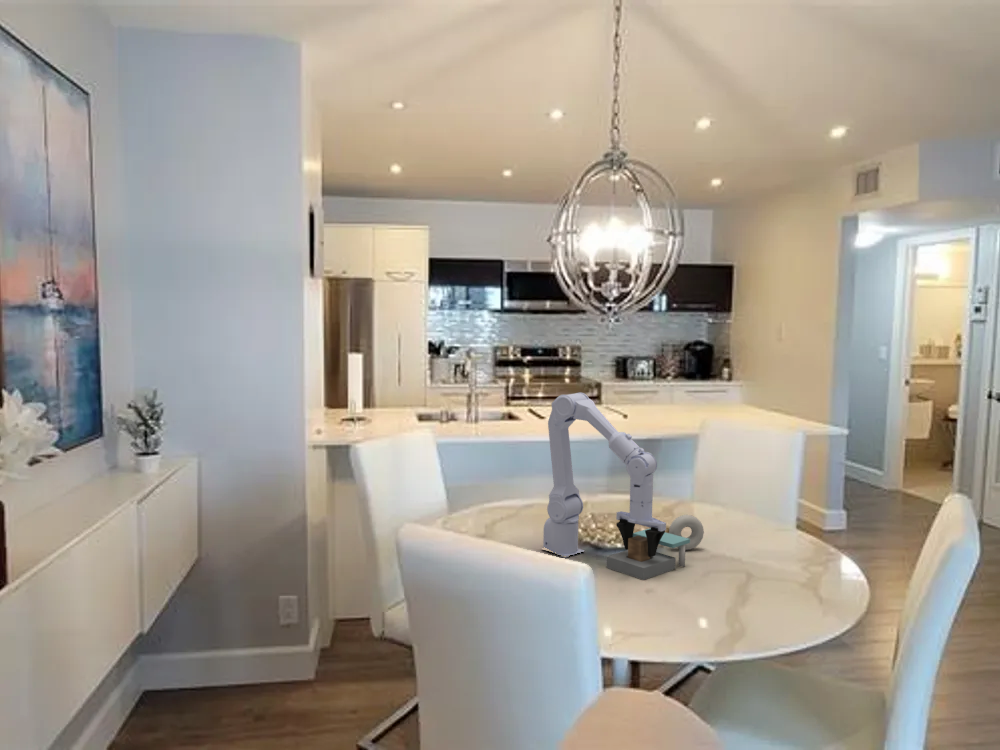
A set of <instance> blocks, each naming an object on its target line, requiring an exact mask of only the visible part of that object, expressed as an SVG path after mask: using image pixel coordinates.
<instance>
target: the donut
mask: <svg viewBox="0 0 1000 750" xmlns="http://www.w3.org/2000/svg"><path fill="white" fill-rule="evenodd" d="M685 528H689V529H690V530H691V532H690V535H689V536H687V537H686V538H688V539H690V543H688V544H685V551H689V550H692V549H693V550H694V549H695V548H696V547H698V546H699V545H700V544H701V542H702V540H703V539H704V534H705V532H704V526H703V524H702V521H700V520H699V518H698V517H696V516H693V515H691V514H683V515H680V516H677V517H676V518H675V519H674V520H673V521H672V522H671V524H670V526H669V529H668V533H670V534H673V535H677V536H681V537H683V536H682V531H683V529H685ZM676 548H678V549H679V546H678V547H676Z"/></svg>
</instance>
